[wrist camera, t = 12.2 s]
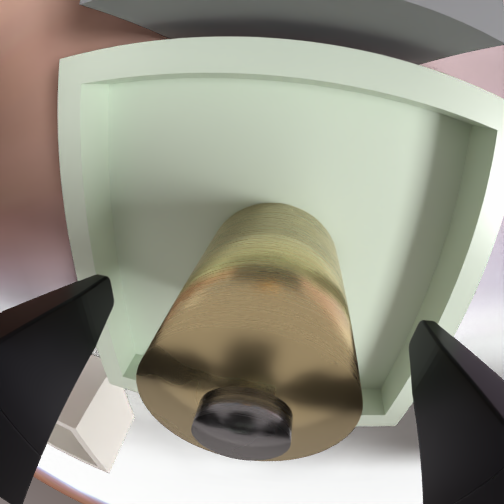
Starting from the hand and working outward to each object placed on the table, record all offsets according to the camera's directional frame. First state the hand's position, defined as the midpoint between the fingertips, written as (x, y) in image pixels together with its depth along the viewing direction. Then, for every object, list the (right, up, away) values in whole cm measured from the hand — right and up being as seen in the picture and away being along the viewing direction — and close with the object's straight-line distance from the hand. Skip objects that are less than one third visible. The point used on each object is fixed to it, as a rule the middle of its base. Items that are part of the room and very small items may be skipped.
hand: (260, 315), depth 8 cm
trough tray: (+1, +2, +3) cm, 3 cm away
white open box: (-11, -7, +9) cm, 16 cm away
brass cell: (+1, +1, +3) cm, 3 cm away
